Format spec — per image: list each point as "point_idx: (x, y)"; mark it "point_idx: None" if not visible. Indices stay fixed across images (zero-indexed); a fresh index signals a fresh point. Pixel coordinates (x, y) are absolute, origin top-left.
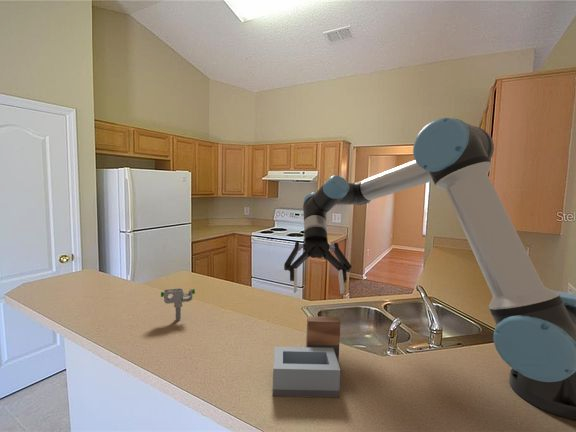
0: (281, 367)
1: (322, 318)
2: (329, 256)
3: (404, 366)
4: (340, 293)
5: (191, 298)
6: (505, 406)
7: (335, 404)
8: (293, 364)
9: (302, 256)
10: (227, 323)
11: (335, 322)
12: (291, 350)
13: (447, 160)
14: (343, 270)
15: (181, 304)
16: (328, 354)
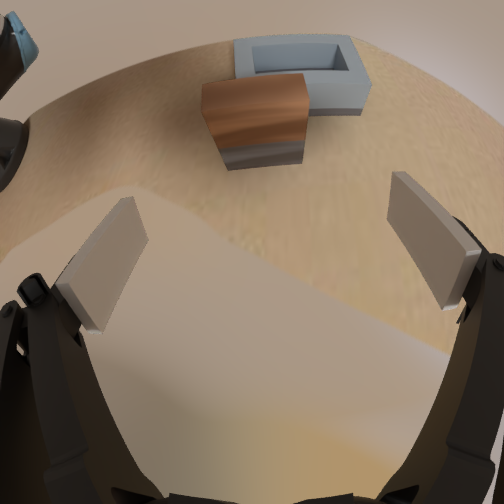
0: (337, 37)
1: (257, 93)
2: (78, 430)
3: (103, 169)
4: (147, 240)
5: None
6: (49, 121)
7: None
8: (318, 41)
9: (485, 395)
10: None
11: (217, 83)
12: (332, 73)
13: None
14: (53, 296)
15: None
16: (250, 68)
